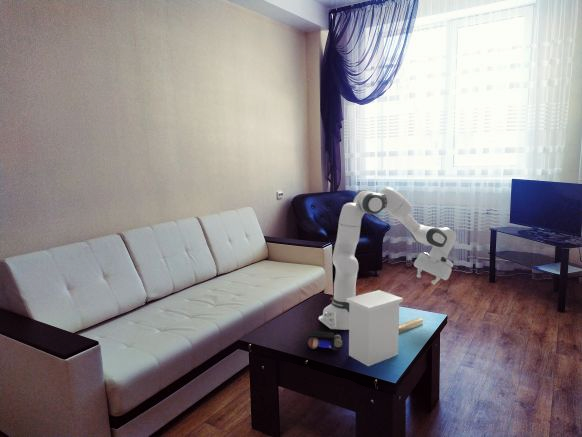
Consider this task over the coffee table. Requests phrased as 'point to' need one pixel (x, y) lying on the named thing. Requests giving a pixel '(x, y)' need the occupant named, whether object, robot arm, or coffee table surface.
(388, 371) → the coffee table surface
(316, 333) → the figurine character
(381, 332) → the pedestal
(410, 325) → the beech bar
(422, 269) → the robot arm
